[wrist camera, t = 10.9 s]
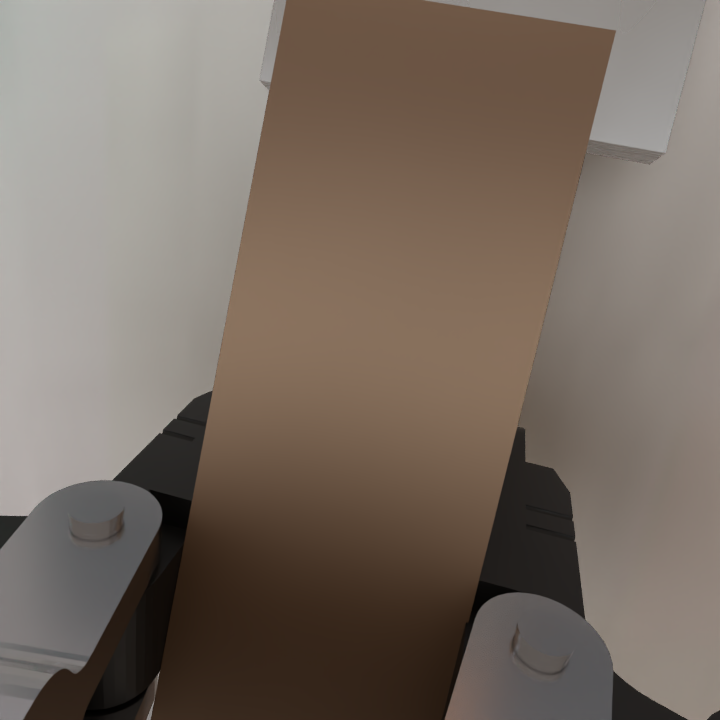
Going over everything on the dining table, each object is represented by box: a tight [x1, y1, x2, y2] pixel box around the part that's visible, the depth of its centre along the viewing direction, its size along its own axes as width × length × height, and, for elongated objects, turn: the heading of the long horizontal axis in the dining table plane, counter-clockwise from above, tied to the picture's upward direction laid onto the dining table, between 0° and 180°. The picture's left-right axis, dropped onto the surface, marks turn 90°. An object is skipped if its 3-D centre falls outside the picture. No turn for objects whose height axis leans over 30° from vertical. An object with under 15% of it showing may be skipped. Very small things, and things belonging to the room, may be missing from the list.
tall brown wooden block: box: [151, 0, 706, 720], centre depth 9 cm, size 19×6×4 cm, turn 171°
